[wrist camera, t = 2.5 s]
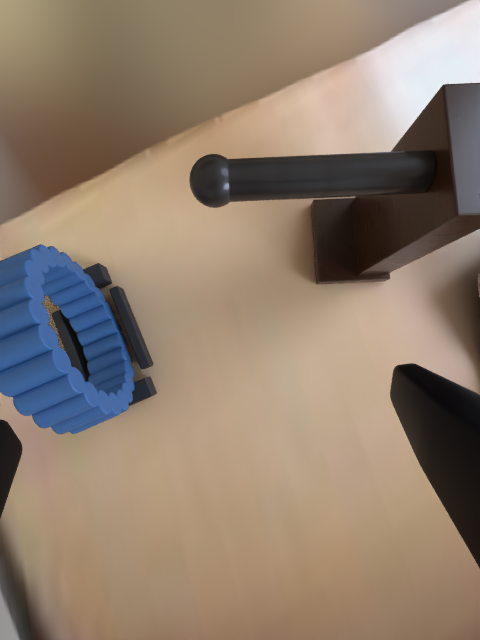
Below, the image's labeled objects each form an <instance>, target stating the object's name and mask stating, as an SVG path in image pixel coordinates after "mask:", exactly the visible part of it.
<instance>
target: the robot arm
mask: <svg viewBox="0 0 480 640" xmlns="http://www.w3.org/2000/svg"><path fill="white" fill-rule="evenodd" d="M390 397H391V401H392V404H393V406H394V408H395V411H396V413H397V415H398V417H399V419H400V422H401V424H402V426H403V428H404V431H405V433H406V435H407V437H408V440H409V442H410V444H411V446H412V449H413V451H414V453H415V455H416V457H417V459H418V461H419V463H420V465H421V467H422V469H423V471H424V473H425V474H426V476H427V478H428V480H429V481H430V483H431V485H432V487H433V488H434V490H435V492H436V493H437V495H438V497H439V499H440V500H441V502H442V504H443V506H444V507H445V509H446V511H447V512H448V514H449V516H450V518H451V519H452V521H453V523H454V525H455V526H456V528H457V530H458V531H459V533H460V535H461V537H462V538H463V540H464V542H465V544H466V545H467V547H468V549H469V550H470V552H471V554H472V556H473V557H474V559H475V561H476V563H477V564H478V566H479V568H480V395H479V394H477V393H475V392H473V391H471V390H469V389H467V388H465V387H462V386H460V385H458V384H456V383H454V382H452V381H450V380H448V379H446V378H444V377H442V376H440V375H437V374H435V373H433V372H431V371H429V370H427V369H425V368H423V367H421V366H419V365H417V364H413V363H411V364H403V365H397V366H396V367H395V368H394V370H393V376H392V383H391V390H390ZM21 455H22V444H21V442H20V440H19V439H18V437H17V436H16V434H15V433H14V431H13V430H12V428H11V427H10V425H9V424H8V422H6V421H4V420H0V518H1V515H2V512H3V509H4V506H5V503H6V500H7V497H8V494H9V491H10V488H11V485H12V482H13V479H14V476H15V473H16V470H17V467H18V464H19V461H20V458H21Z"/></svg>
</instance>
